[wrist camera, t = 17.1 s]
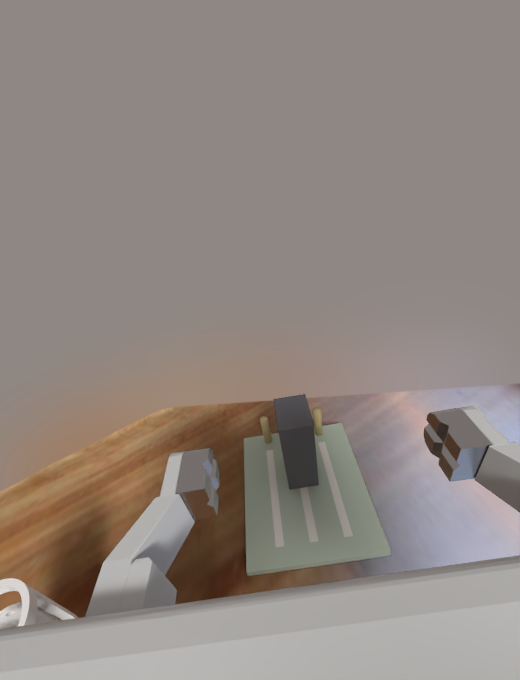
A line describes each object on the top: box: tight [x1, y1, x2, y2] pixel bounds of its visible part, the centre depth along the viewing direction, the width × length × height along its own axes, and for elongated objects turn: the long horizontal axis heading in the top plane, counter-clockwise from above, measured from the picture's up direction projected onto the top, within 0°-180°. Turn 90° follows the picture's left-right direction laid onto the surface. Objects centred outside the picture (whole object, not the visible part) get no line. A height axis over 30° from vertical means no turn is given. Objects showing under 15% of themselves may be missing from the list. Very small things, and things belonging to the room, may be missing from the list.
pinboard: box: [244, 408, 391, 576], centre depth 38 cm, size 16×18×6 cm
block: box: [274, 394, 319, 490], centre depth 38 cm, size 4×5×12 cm
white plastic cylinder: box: [0, 578, 78, 629], centre depth 24 cm, size 7×7×15 cm
